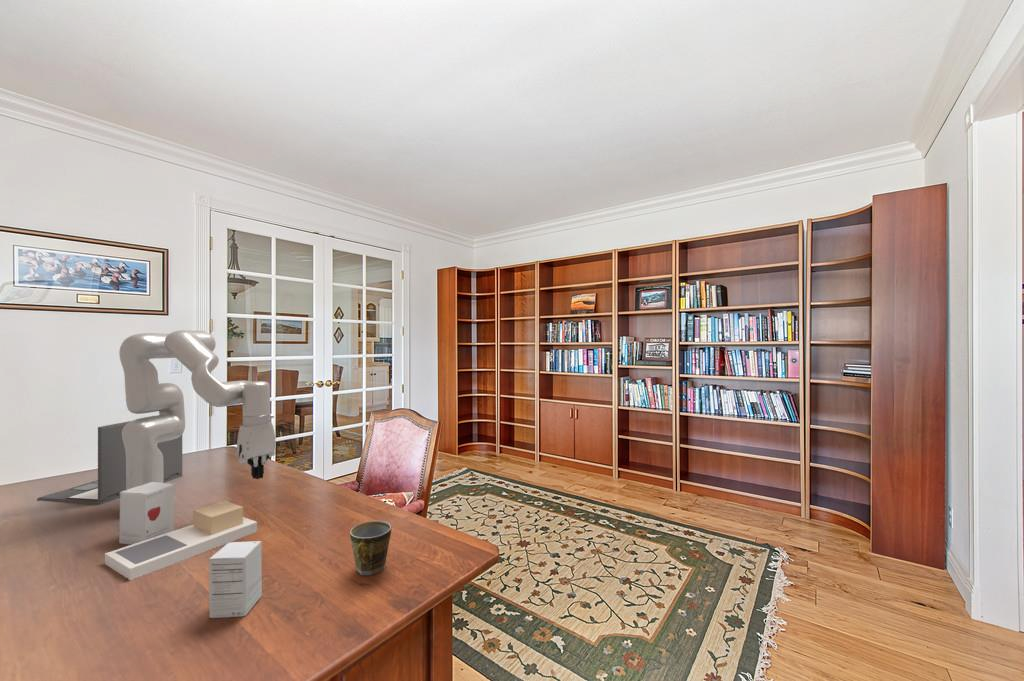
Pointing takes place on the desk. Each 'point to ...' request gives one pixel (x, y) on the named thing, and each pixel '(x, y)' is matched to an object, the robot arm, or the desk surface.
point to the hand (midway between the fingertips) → (257, 477)
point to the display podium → (171, 548)
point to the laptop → (116, 469)
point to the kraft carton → (218, 517)
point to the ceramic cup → (370, 546)
